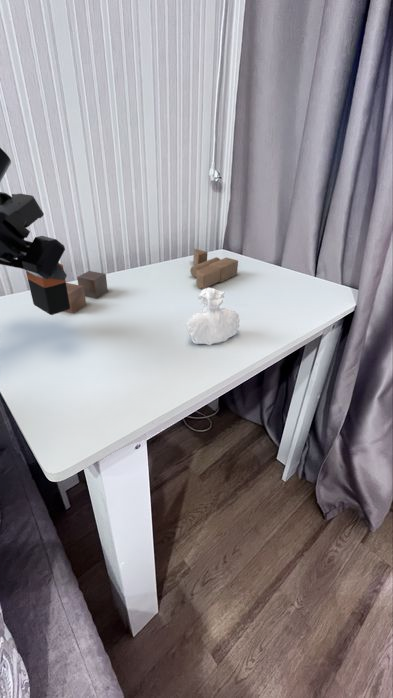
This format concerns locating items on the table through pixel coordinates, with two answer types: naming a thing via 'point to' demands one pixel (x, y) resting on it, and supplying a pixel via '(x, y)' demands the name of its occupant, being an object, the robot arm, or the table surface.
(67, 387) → the table surface
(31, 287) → the battery
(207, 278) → the wooden block set
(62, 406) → the table surface
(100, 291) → the line block far
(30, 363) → the table surface
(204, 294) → the bust
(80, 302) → the line block near
